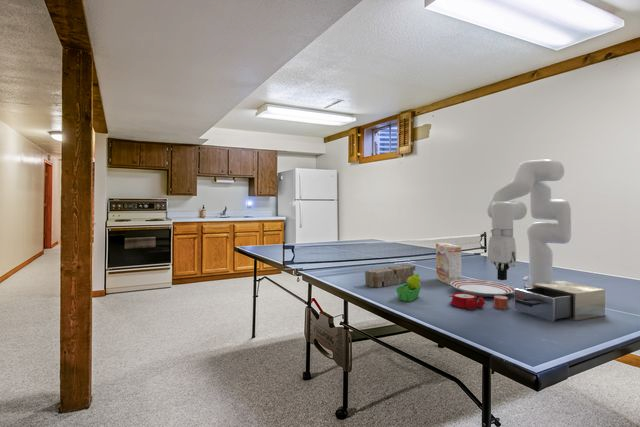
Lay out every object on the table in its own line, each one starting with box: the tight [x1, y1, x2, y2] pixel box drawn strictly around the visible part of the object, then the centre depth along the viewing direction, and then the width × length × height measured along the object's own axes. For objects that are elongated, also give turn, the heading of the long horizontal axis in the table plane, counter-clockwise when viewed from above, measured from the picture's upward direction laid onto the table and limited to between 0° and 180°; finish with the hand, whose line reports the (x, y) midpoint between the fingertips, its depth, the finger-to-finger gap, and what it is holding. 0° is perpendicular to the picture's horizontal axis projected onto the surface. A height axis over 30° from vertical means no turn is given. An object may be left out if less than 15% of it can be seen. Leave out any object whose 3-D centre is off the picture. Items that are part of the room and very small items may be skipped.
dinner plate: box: [450, 279, 516, 298], centre depth 167 cm, size 27×27×3 cm
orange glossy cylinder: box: [493, 295, 509, 310], centre depth 144 cm, size 5×5×4 cm
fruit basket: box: [395, 273, 422, 302], centre depth 157 cm, size 11×9×11 cm
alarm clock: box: [449, 291, 488, 311], centre depth 146 cm, size 10×6×15 cm
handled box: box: [514, 287, 573, 322], centre depth 132 cm, size 19×15×8 cm
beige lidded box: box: [533, 280, 606, 322], centre depth 137 cm, size 16×17×10 cm
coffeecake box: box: [435, 242, 462, 286], centre depth 190 cm, size 15×7×20 cm, turn 6°
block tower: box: [364, 263, 416, 289], centre depth 188 cm, size 8×8×29 cm
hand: (502, 279), depth 143 cm, fingers closed
